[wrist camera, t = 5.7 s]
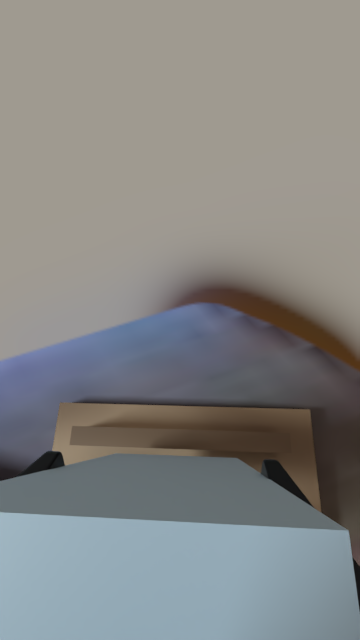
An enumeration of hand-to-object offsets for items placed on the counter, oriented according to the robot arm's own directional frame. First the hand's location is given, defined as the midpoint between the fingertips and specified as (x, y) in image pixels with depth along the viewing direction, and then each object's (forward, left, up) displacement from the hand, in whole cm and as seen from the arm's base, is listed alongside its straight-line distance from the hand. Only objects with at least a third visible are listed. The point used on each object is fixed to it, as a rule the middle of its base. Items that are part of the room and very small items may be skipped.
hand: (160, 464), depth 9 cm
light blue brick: (-1, +1, -6) cm, 7 cm away
